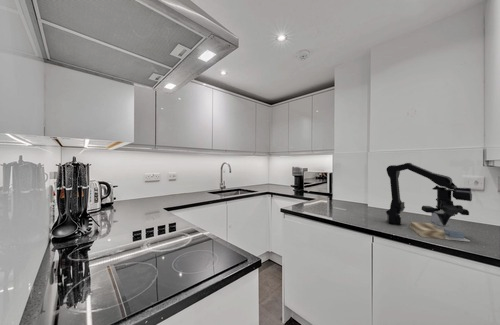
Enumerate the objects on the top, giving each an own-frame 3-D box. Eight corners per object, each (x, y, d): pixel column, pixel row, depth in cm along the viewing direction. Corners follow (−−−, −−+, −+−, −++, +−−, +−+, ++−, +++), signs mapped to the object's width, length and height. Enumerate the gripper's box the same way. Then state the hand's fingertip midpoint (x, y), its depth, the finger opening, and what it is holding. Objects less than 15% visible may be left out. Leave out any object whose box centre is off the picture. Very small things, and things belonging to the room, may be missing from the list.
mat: (445, 239, 103) (445, 238, 103) (431, 230, 116) (431, 229, 116) (470, 241, 100) (470, 241, 100) (453, 232, 113) (453, 231, 113)
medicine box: (448, 226, 122) (448, 212, 122) (440, 225, 123) (440, 212, 123) (438, 222, 130) (438, 209, 130) (431, 221, 131) (431, 209, 131)
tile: (464, 234, 103) (464, 238, 103) (457, 230, 108) (457, 234, 108) (449, 232, 105) (449, 236, 105) (443, 228, 111) (443, 232, 111)
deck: (421, 236, 107) (421, 229, 107) (410, 228, 120) (410, 221, 120) (444, 239, 103) (444, 231, 103) (430, 229, 116) (430, 223, 116)
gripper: (431, 200, 104) (431, 228, 104) (477, 202, 98) (476, 232, 98) (421, 196, 115) (421, 221, 115) (462, 197, 108) (461, 225, 108)
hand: (444, 225), depth 109 cm, fingers closed
